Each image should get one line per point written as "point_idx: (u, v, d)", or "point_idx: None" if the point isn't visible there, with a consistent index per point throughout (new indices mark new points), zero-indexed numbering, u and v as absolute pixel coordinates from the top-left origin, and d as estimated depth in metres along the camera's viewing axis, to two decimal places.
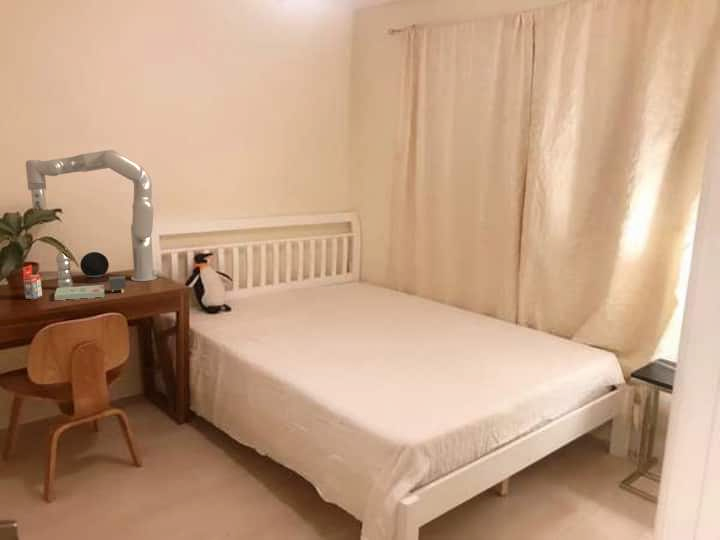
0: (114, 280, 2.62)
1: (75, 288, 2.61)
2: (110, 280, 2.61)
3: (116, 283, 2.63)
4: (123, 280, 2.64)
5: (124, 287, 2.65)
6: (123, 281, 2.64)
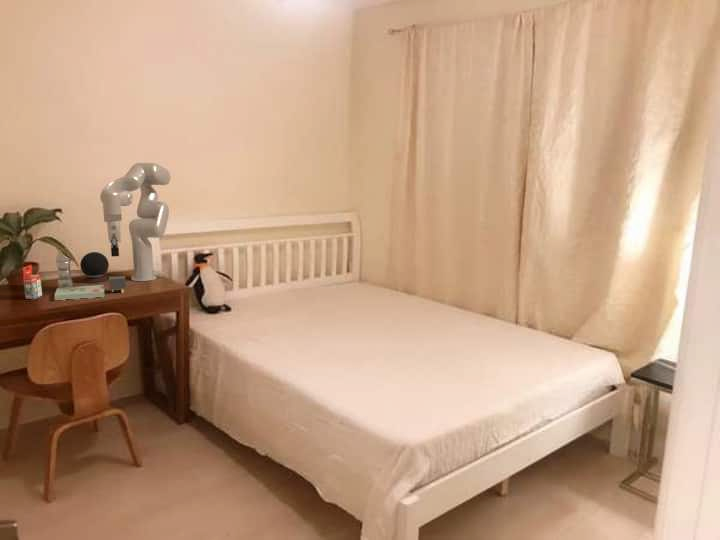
0: (114, 280, 2.62)
1: (75, 288, 2.61)
2: (110, 280, 2.61)
3: (116, 283, 2.63)
4: (123, 280, 2.64)
5: (124, 287, 2.65)
6: (123, 281, 2.64)
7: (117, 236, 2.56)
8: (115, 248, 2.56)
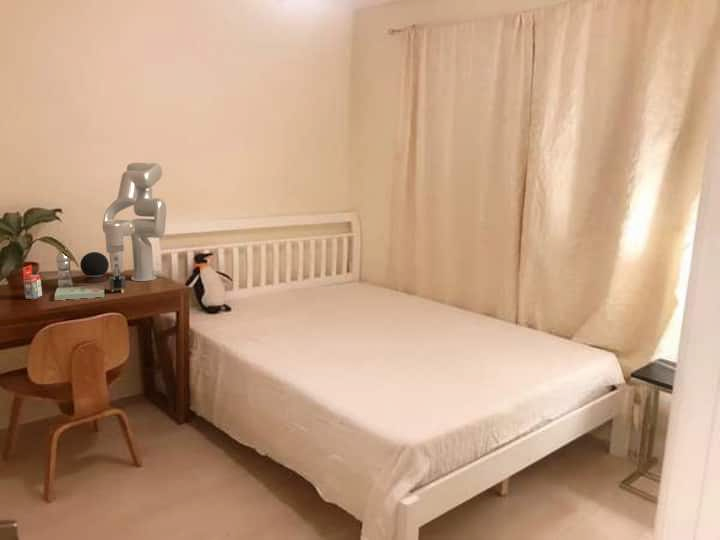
0: None
1: (75, 288, 2.61)
2: (110, 280, 2.61)
3: None
4: (123, 280, 2.64)
5: (124, 287, 2.65)
6: (123, 281, 2.64)
7: (119, 267, 2.60)
8: (117, 280, 2.62)
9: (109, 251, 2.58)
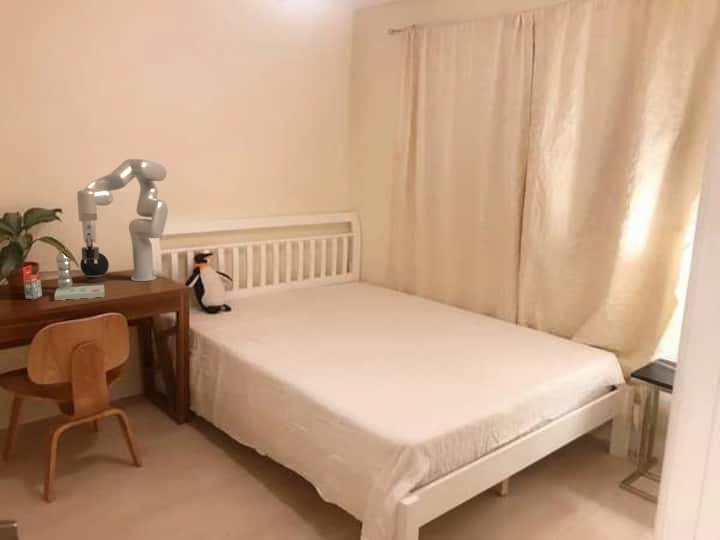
0: None
1: (75, 288, 2.61)
2: (83, 250, 2.53)
3: None
4: (96, 250, 2.56)
5: (97, 257, 2.56)
6: (96, 251, 2.56)
7: (92, 236, 2.52)
8: (90, 250, 2.54)
9: (82, 219, 2.51)
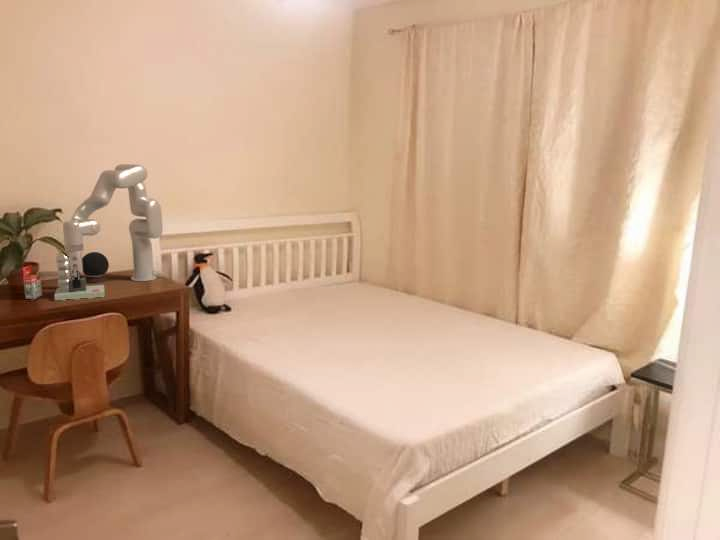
0: None
1: None
2: (69, 282, 2.54)
3: None
4: (83, 282, 2.56)
5: (84, 289, 2.57)
6: (83, 283, 2.56)
7: (78, 267, 2.52)
8: (76, 280, 2.53)
9: (67, 251, 2.50)
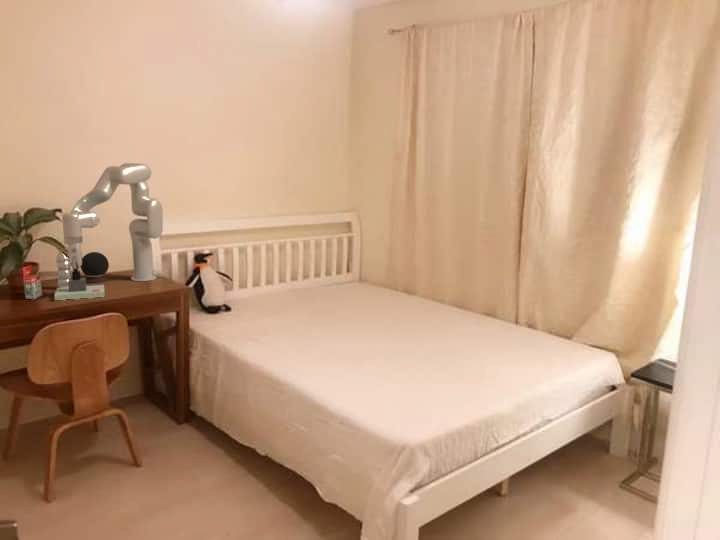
0: (73, 282, 2.54)
1: None
2: (69, 282, 2.54)
3: (75, 285, 2.55)
4: (83, 282, 2.56)
5: (84, 289, 2.57)
6: (83, 283, 2.56)
7: (77, 259, 2.51)
8: None
9: (67, 243, 2.50)
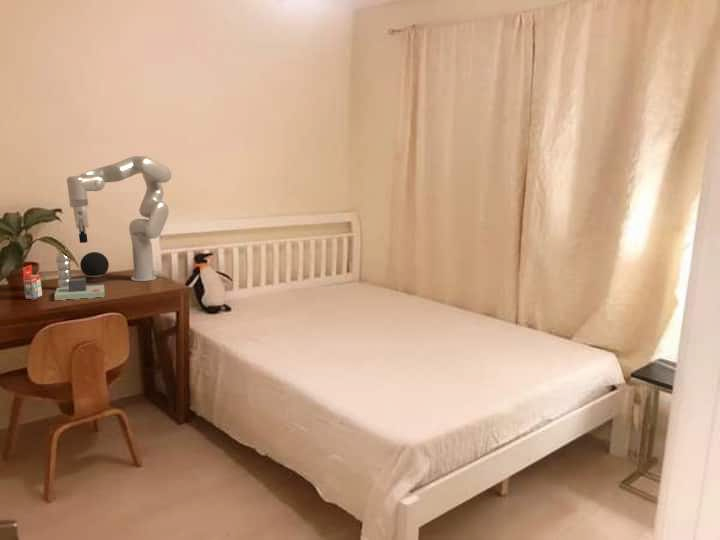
0: (73, 282, 2.54)
1: None
2: (69, 282, 2.54)
3: (75, 285, 2.55)
4: (83, 282, 2.56)
5: (84, 289, 2.57)
6: (83, 283, 2.56)
7: (84, 221, 2.56)
8: None
9: (73, 205, 2.54)
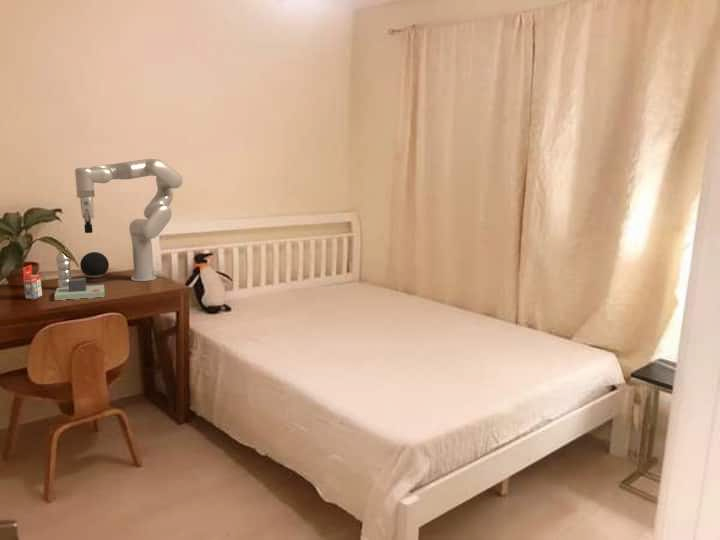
0: (73, 282, 2.54)
1: None
2: (69, 282, 2.54)
3: (75, 285, 2.55)
4: (83, 282, 2.56)
5: (84, 289, 2.57)
6: (83, 283, 2.56)
7: (90, 212, 2.62)
8: None
9: (79, 196, 2.61)
